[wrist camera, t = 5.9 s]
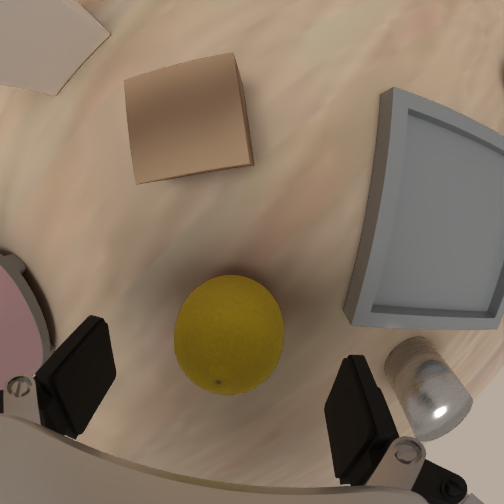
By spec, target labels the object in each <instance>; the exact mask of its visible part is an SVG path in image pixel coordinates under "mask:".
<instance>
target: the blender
mask: <svg viewBox="0 0 504 504" xmlns="http://www.w3.org/2000/svg"><path fill="white" fill-rule="evenodd" d="M25 269H26V265H25V264H24V263H23V262H22V261H21V260H20V259H19V258H18V257H17V256H16V255H14V254H10V255H6V256H3V255H2V254H0V390H3V388H4V383H5V382H6V380H7V379H8V378H9V377H10V376H12V375H14V374H18V373H24V374H28V375H30V376H32V375H33V374H34V373H36V372H37V371H38V370H39V369H40V367H41V366H42V365H43V364H44V363H45V362H46V361H47V360H48V359H49V357H50V356H51V355H52V354H53V352H54V349H55V347H54V346H53V345H52V344H51V343H50V339H49V333H48V329H47V325H46V322H45V319H44V316H43V314H42V311H41V309H40V306H39V304H38V302H37V300H36V298H35V296H34V294H33V292H32V290H31V289H30V287H29V285H28V284H27V282H26V281H25V279H24V277H23V276H22V275H21V274H22V273H23V272H25Z"/></svg>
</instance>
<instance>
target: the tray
mask: <svg viewBox="0 0 504 504" xmlns="http://www.w3.org/2000/svg"><path fill="white" fill-rule="evenodd" d="M343 311H344V313H345V315H346V317H347V319H348V321H349V323H350V325H351V326H362V327H378V328H398V329H429V330H489V329H497V328H498V326H499V323H500V321H501V318H502V316H503V313H504V136H502V135H500V134H499V133H497V132H495V131H493V130H492V129H490V128H488V127H486V126H484V125H482V124H480V123H479V122H477V121H475V120H473V119H471V118H469V117H467V116H465V115H463V114H460V113H458V112H456V111H454V110H452V109H450V108H447V107H445V106H443V105H440V104H438V103H436V102H433V101H431V100H428V99H426V98H423V97H421V96H418V95H415V94H413V93H410V92H407V91H404V90H401V89H398V88H395V87H392V88H391V89H389V90H387V91H385V92H384V93H382V94H381V95H380V109H379V121H378V131H377V140H376V149H375V157H374V165H373V172H372V179H371V185H370V191H369V197H368V203H367V209H366V214H365V220H364V225H363V230H362V235H361V240H360V245H359V249H358V254H357V258H356V263H355V267H354V271H353V275H352V279H351V283H350V287H349V291H348V295H347V299H346V303H345V306H344V310H343Z"/></svg>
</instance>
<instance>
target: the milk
mask: <svg viewBox="0 0 504 504" xmlns="http://www.w3.org/2000/svg"><path fill="white" fill-rule="evenodd" d="M109 36H110V33H109V32H108V31H107V30H106V29H105V28H104V27H103V26H102V25H101V24H100V23H99V22H98V21H97V20H96V19H95V18H94V17H93V16H92V15H91V14H90V13H89V12H88V11H87V10H85V9H84V8H83V7H82V6H81V5H80V4H79V3H78V2H76V1H75V0H0V85H5V86H11V87H16V88H22V89H27V90H32V91H36V92H41V93H45V94H50V95H57V93H58V92H59V91H60V90H61V88H62V87H63V86H64V85H65V83H66V82H67V81H68V80H69V79H70V77H71V76H72V75H73V74H74V73H75V72H76V70H77V69H78V68H79V67H80V66H81V65H82V64H83V63H84V61H85V60H86V59H87V58H88V57H89V56H90V55H91V54H92V53H93V52H94V51H95V50H96V49H97V48H98V47H99V46H100V45H101V44H102V43H103V42H104V41H105V40H106V39H107V38H108V37H109Z"/></svg>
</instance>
